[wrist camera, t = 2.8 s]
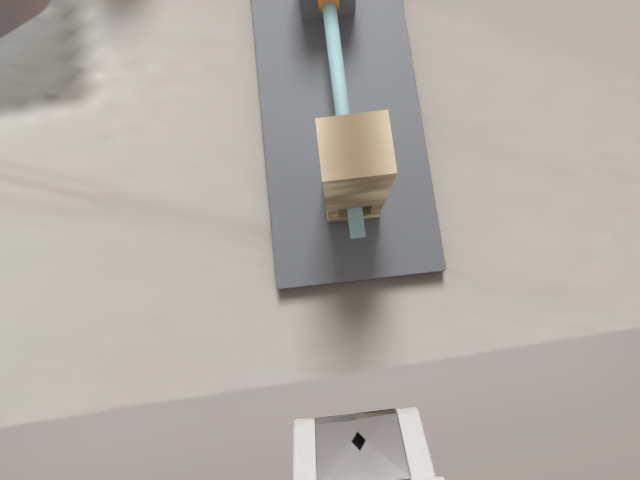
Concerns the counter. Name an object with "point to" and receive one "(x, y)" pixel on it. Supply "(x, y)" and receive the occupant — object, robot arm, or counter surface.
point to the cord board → (302, 145)
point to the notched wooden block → (356, 162)
